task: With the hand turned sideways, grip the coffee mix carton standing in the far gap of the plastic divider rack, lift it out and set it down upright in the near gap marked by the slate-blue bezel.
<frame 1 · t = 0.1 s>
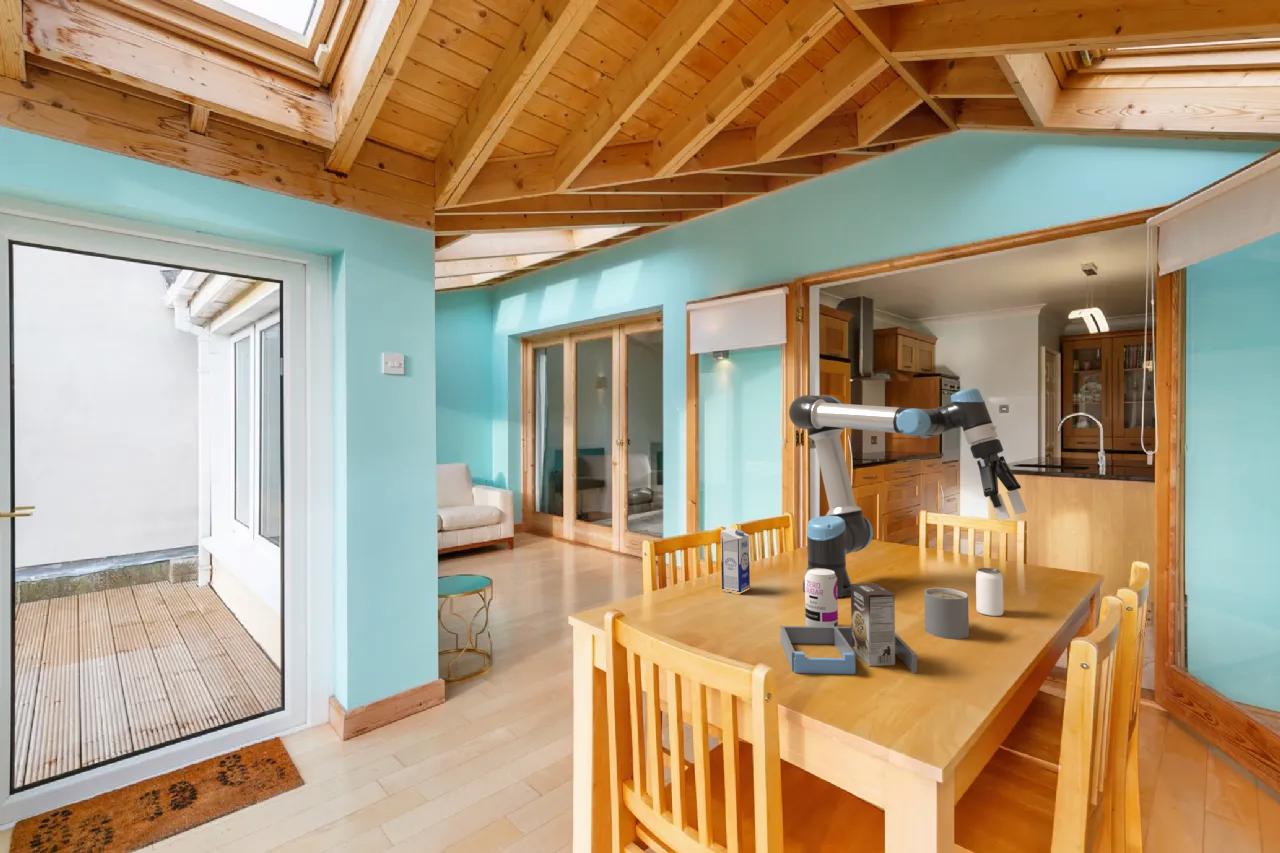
hand: (1012, 516, 157), 28 cm above the table, tool tilted 20°, fingers open, 13 cm apart
supplement can: (821, 629, 153), on the table
milk carton: (735, 591, 188), on the table
can: (989, 613, 162), on the table
coffee box: (873, 658, 133), resting in divider rack
divider rack: (844, 657, 134), on the table
coffee mug: (948, 630, 150), on the table
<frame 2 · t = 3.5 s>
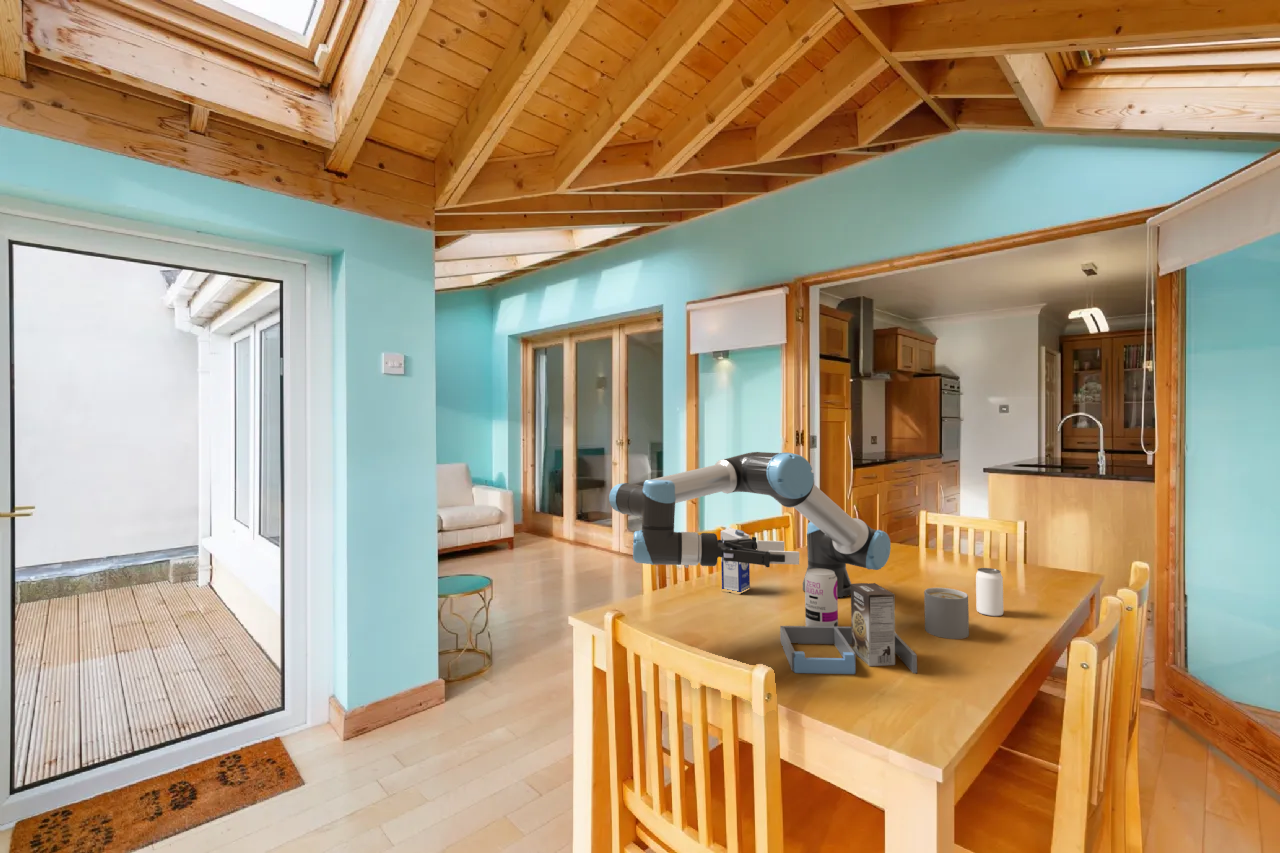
hand: (791, 552, 134), 24 cm above the table, tool horizontal, fingers open, 13 cm apart
nothing on the table moved.
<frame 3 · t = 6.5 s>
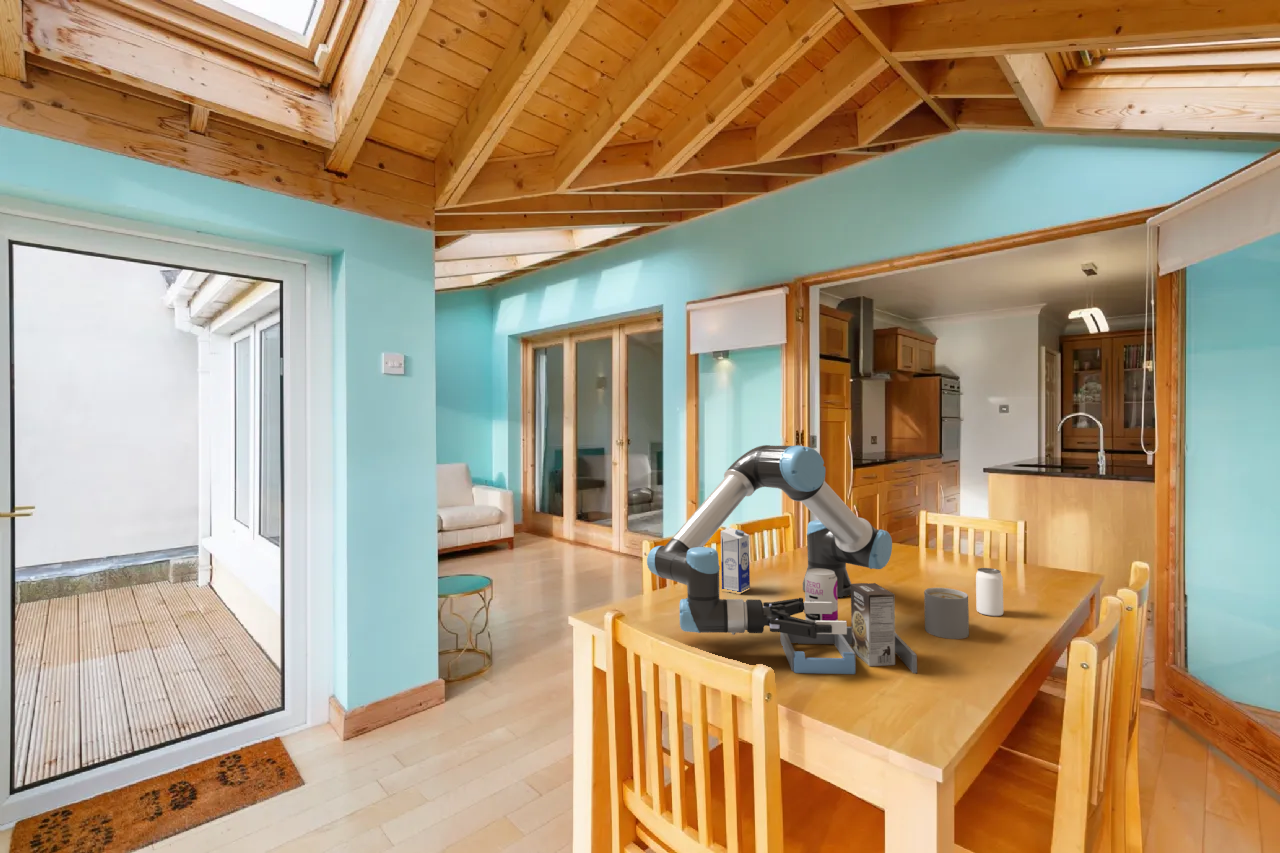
hand: (838, 617, 133), 9 cm above the table, tool horizontal, fingers open, 13 cm apart
nothing on the table moved.
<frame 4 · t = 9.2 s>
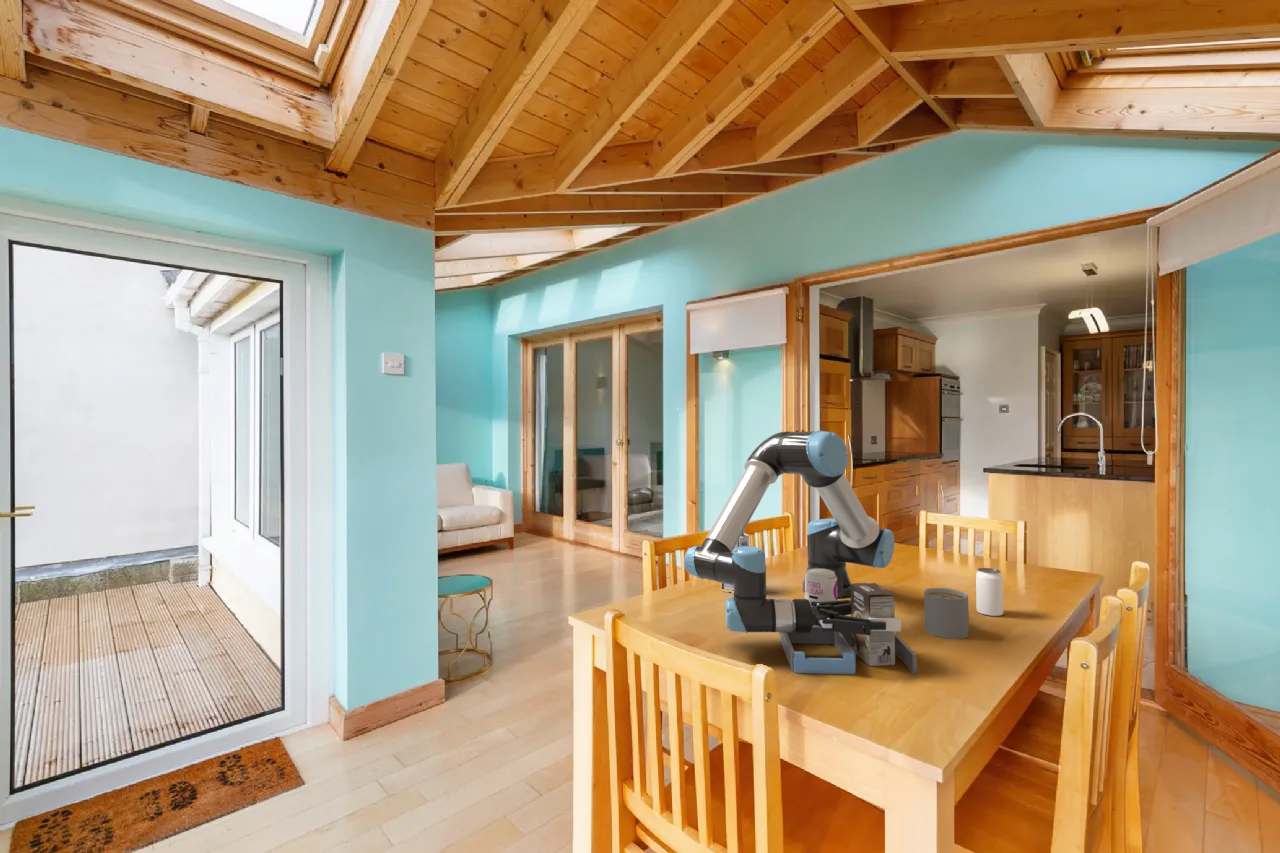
hand: (891, 616, 133), 10 cm above the table, tool horizontal, fingers closed on coffee box, 10 cm apart
coffee box: (872, 658, 133), resting in divider rack, touching gripper
everything else where it was.
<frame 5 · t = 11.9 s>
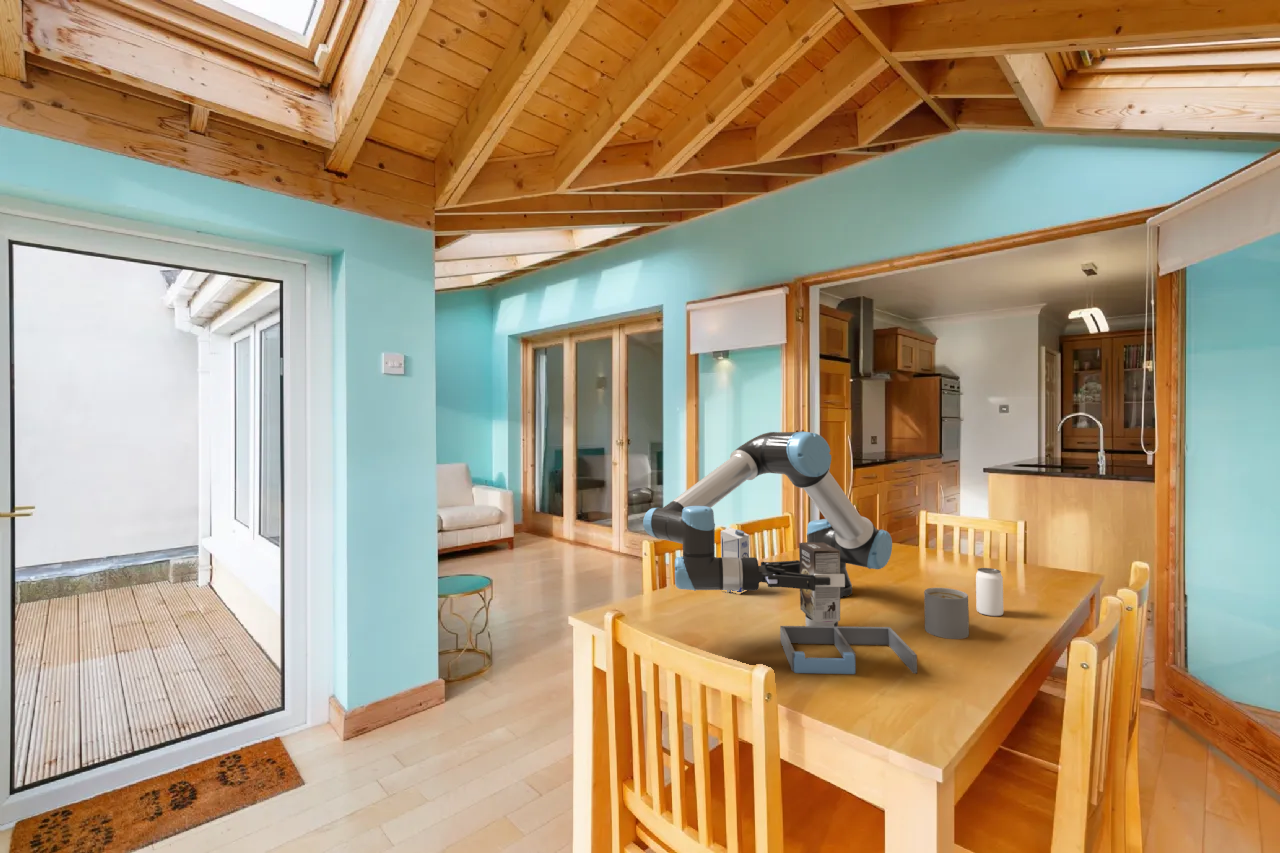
hand: (838, 574, 134), 19 cm above the table, tool horizontal, fingers closed on coffee box, 10 cm apart
coffee box: (819, 616, 134), point 10 cm above the table, touching gripper
everything else where it was.
when the fingers open (10 cm above the table, at t = 14.6 s): coffee box stays where it is, resting in divider rack.
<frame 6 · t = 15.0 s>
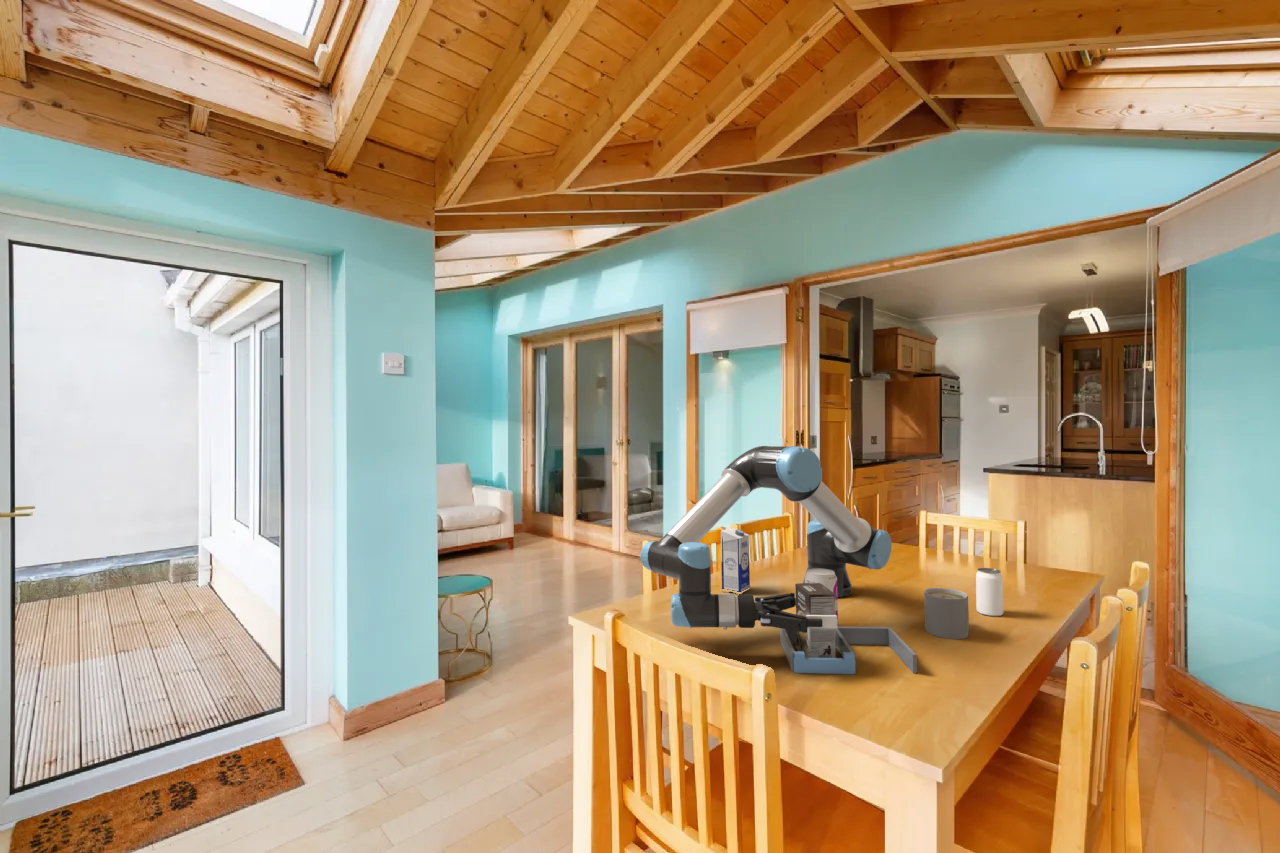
hand: (829, 611, 134), 10 cm above the table, tool horizontal, fingers open, 13 cm apart
coffee box: (815, 658, 134), resting in divider rack
everything else where it was.
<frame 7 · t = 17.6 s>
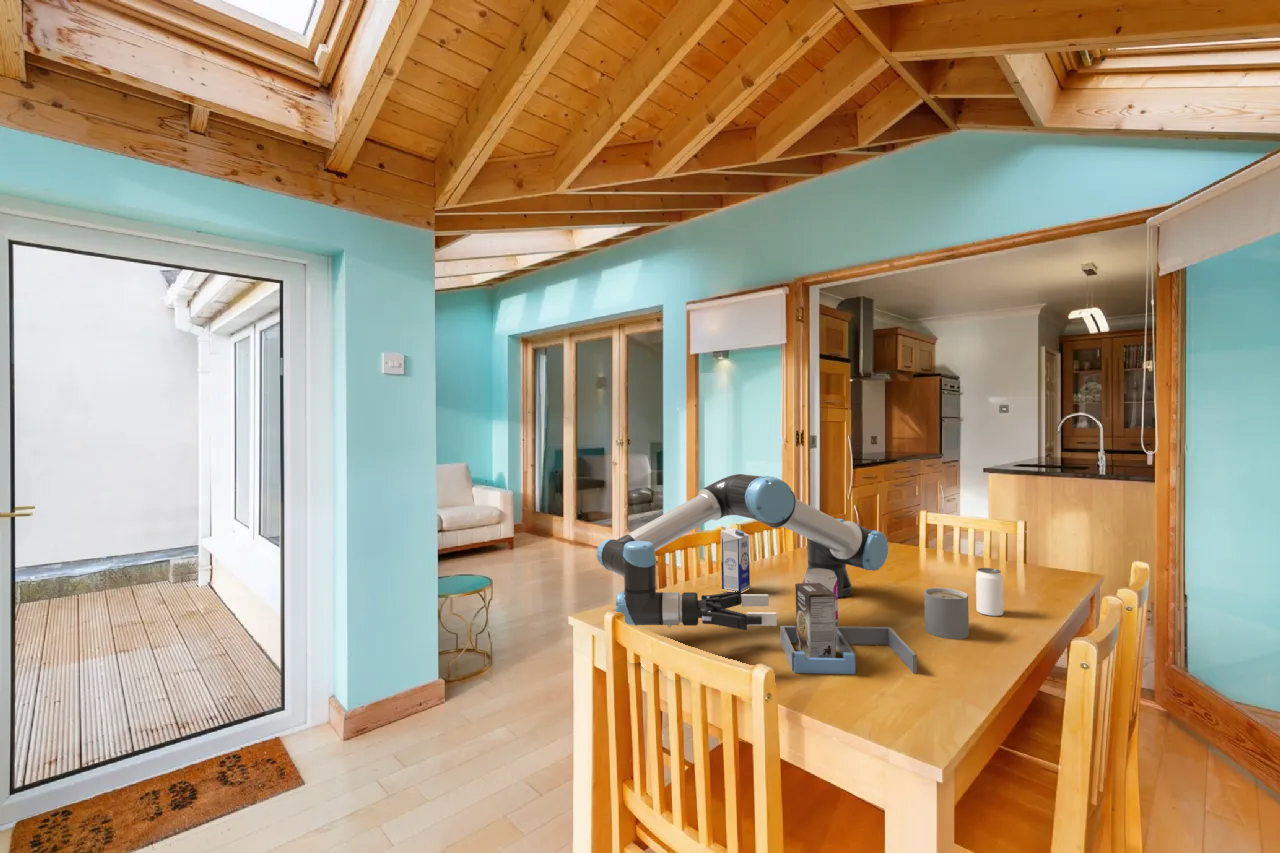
hand: (772, 609, 135), 11 cm above the table, tool horizontal, fingers open, 13 cm apart
nothing on the table moved.
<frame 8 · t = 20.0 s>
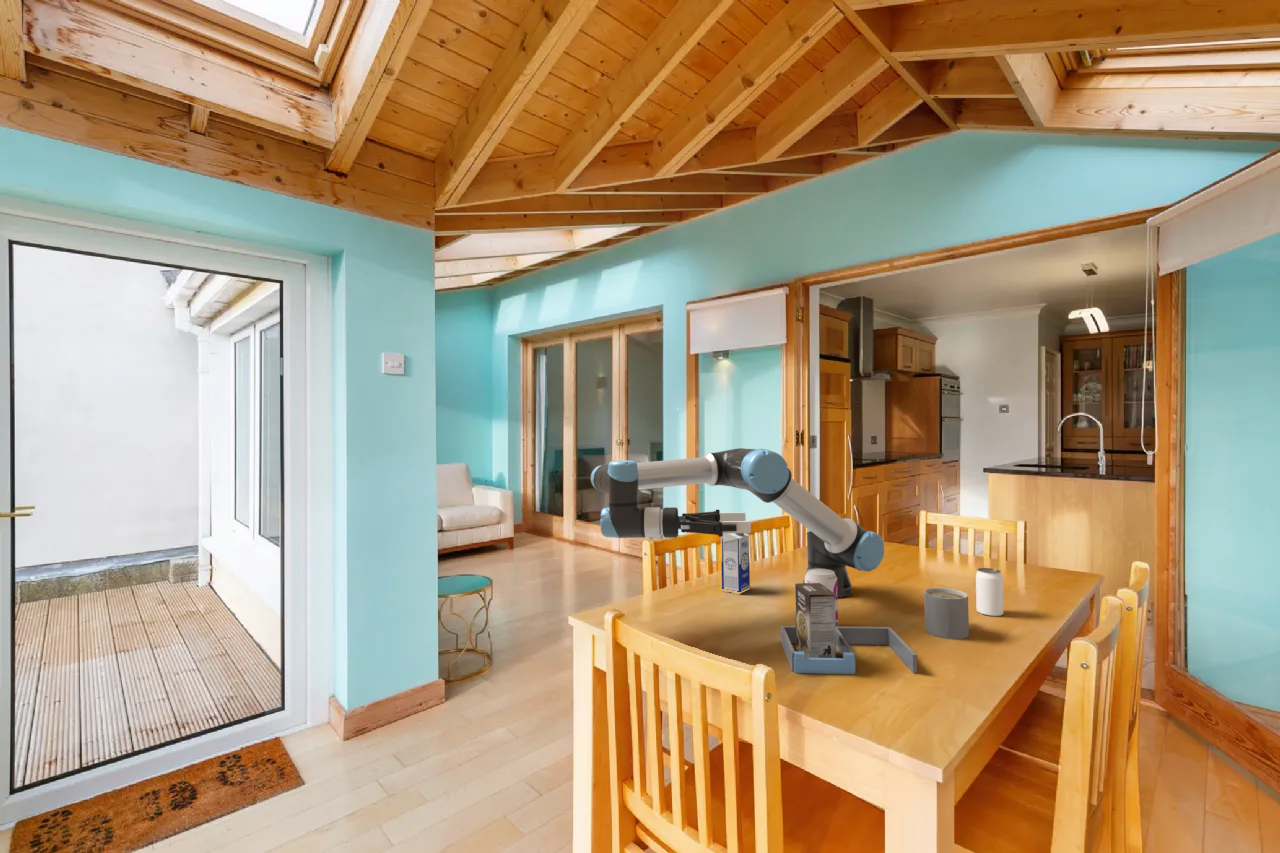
hand: (748, 522, 143), 30 cm above the table, tool horizontal, fingers open, 13 cm apart
nothing on the table moved.
at the end: coffee box inside the target area on the divider rack (0.2 cm from its centre), point 0.0 cm above the divider rack's base; coffee box tilted 0°; the gripper is holding nothing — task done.
